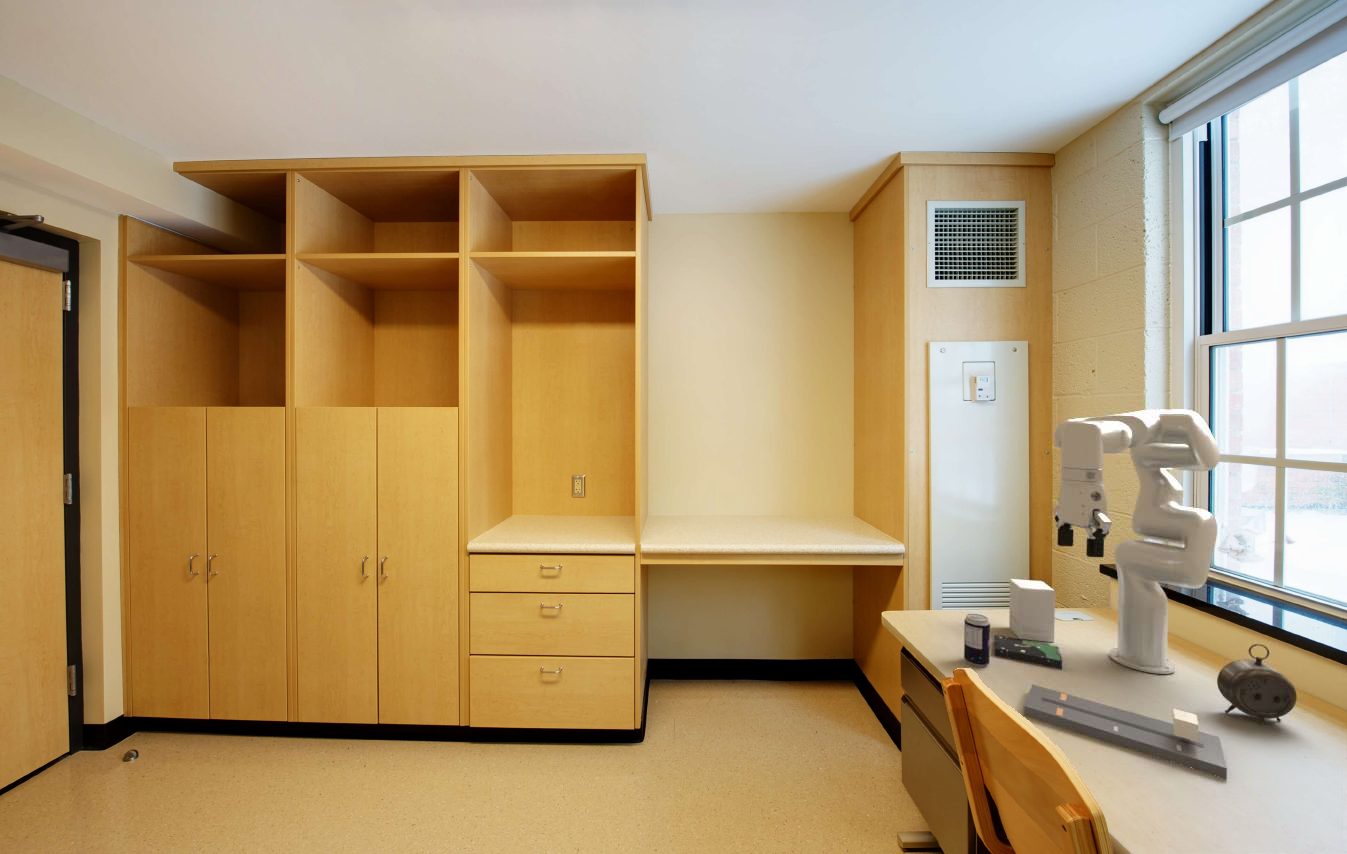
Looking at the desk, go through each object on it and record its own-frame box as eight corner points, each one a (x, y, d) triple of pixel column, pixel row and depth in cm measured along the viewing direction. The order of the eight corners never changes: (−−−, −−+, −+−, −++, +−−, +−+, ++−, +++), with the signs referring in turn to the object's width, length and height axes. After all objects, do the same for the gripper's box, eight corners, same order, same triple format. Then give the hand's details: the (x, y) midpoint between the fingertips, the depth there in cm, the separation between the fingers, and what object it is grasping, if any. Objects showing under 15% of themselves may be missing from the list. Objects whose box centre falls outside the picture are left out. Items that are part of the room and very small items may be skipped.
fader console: (1032, 692, 121) (1032, 684, 121) (1218, 747, 101) (1218, 736, 101) (1023, 715, 112) (1023, 705, 112) (1226, 779, 92) (1226, 768, 92)
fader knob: (1172, 730, 103) (1173, 708, 103) (1195, 736, 101) (1196, 714, 100) (1174, 740, 99) (1174, 718, 99) (1197, 747, 97) (1198, 724, 97)
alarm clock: (1281, 718, 111) (1283, 642, 110) (1301, 732, 106) (1303, 653, 105) (1214, 708, 114) (1216, 635, 114) (1231, 722, 109) (1233, 645, 109)
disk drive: (994, 658, 140) (1063, 671, 132) (994, 648, 140) (1063, 660, 132) (993, 643, 149) (1058, 655, 141) (993, 634, 148) (1058, 644, 141)
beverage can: (993, 669, 132) (993, 622, 132) (968, 667, 134) (969, 620, 133) (984, 658, 138) (984, 613, 138) (960, 657, 139) (961, 612, 139)
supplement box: (1055, 643, 147) (1056, 590, 147) (1019, 639, 150) (1019, 587, 149) (1042, 630, 156) (1043, 580, 156) (1008, 627, 158) (1009, 578, 158)
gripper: (1128, 481, 110) (1126, 562, 110) (1072, 472, 127) (1071, 542, 127) (1090, 480, 110) (1088, 561, 111) (1040, 471, 128) (1038, 541, 128)
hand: (1079, 551), depth 119 cm, fingers open, 9 cm apart
